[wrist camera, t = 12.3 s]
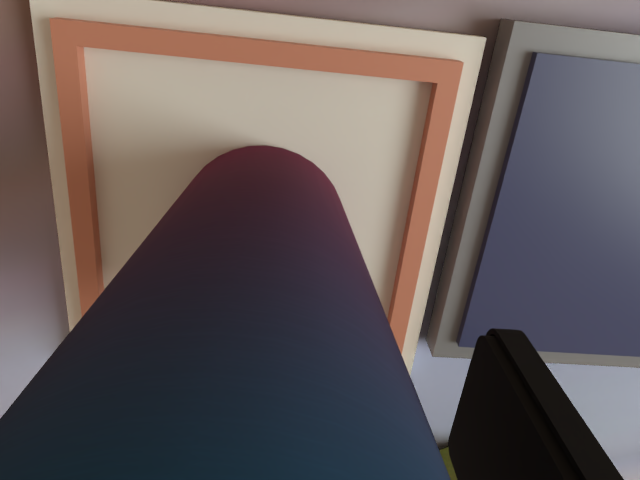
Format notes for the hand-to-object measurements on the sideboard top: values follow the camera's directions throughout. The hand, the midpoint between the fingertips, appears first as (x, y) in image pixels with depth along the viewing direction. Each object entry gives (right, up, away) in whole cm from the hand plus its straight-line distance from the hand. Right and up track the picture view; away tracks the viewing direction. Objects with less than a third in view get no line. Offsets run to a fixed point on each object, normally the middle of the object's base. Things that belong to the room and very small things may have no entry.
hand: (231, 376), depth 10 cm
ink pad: (+12, +3, +8) cm, 14 cm away
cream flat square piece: (0, +3, +7) cm, 8 cm away
